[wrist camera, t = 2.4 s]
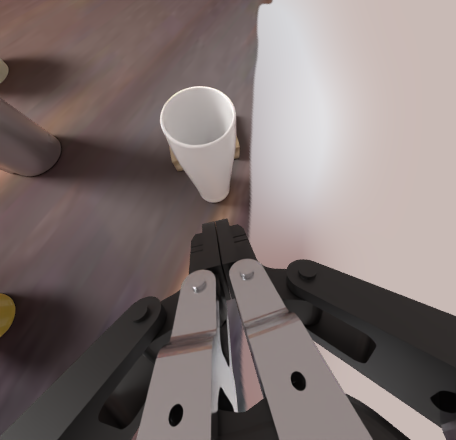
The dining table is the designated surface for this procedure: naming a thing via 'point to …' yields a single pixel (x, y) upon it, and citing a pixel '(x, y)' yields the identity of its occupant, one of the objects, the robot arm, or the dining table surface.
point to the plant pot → (6, 313)
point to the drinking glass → (202, 138)
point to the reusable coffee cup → (3, 71)
